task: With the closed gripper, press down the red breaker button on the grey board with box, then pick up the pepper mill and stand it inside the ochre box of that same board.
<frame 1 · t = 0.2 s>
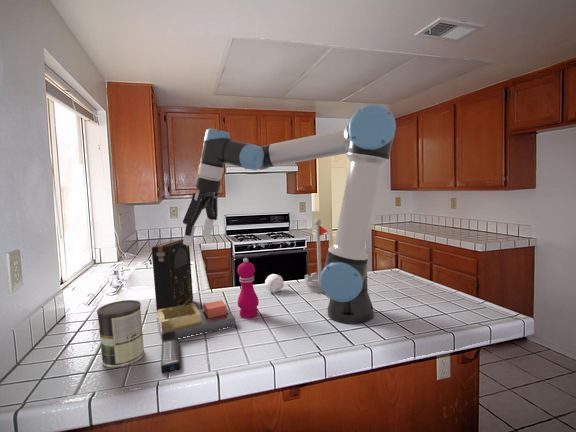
hand: (197, 240, 111), 27 cm above the countertop, tool tilted 15°, fingers open, 13 cm apart
ball: (274, 292, 139), on the countertop
flag stand: (320, 289, 141), on the countertop
breaker button: (215, 308, 110), point 4 cm above the countertop, slide at 0.0 cm
grey board with box: (196, 326, 107), on the countertop
coffee can: (124, 358, 89), on the countertop
multiport hub: (171, 360, 88), on the countertop
pepper mill: (248, 315, 115), on the countertop
voltmeter: (176, 307, 126), on the countertop
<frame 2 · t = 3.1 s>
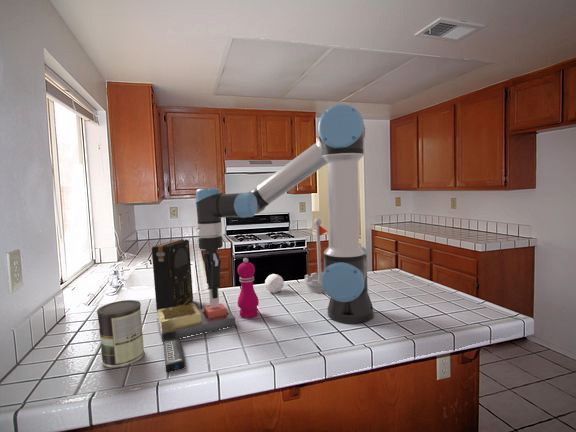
hand: (214, 306, 110), 5 cm above the countertop, tool pointing down, fingers closed
breaker button: (215, 311, 110), point 3 cm above the countertop, slide at 1.0 cm, touching gripper
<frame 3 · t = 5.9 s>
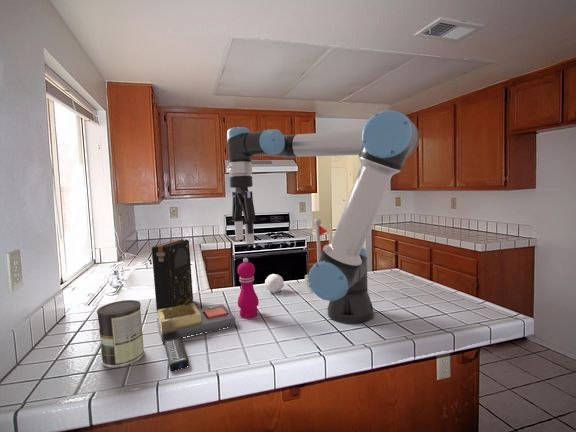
hand: (244, 241, 113), 26 cm above the countertop, tool pointing down, fingers open, 10 cm apart
breaker button: (215, 316, 110), point 2 cm above the countertop, slide at 2.5 cm
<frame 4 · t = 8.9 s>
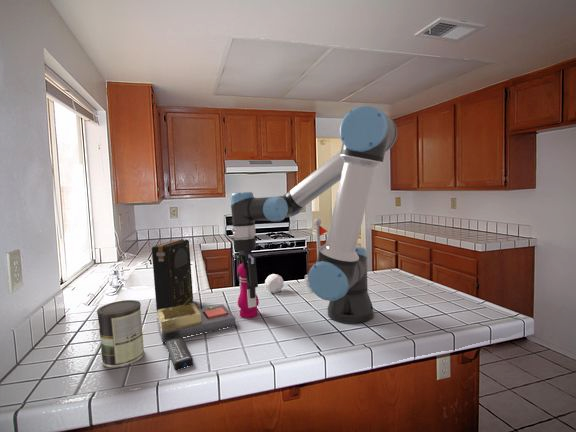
hand: (248, 303, 115), 4 cm above the countertop, tool pointing down, fingers closed on pepper mill, 7 cm apart
pepper mill: (249, 315, 115), on the countertop, touching gripper
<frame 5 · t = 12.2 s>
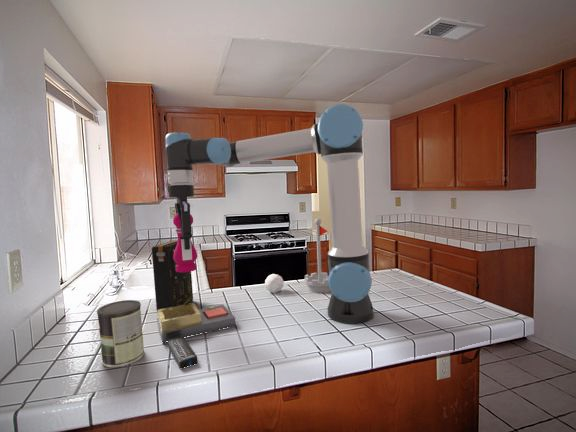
hand: (185, 257, 105), 23 cm above the countertop, tool pointing down, fingers closed on pepper mill, 7 cm apart
pepper mill: (186, 270, 105), point 19 cm above the countertop, touching gripper
when the fingers open (9 cm above the countertop, at t = 15.4 s): pepper mill drops 2 cm, resting on grey board with box.
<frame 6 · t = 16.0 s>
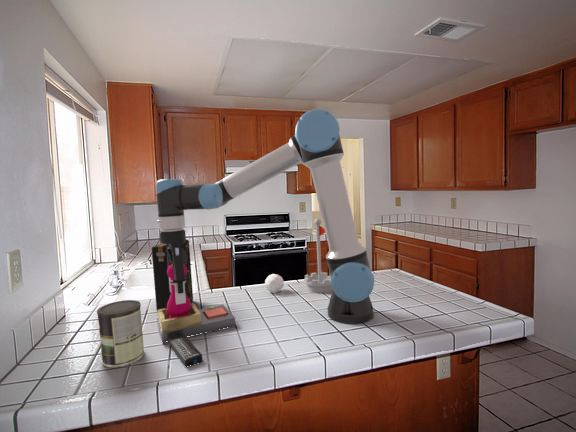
hand: (177, 297, 104), 11 cm above the countertop, tool pointing down, fingers open, 13 cm apart
pepper mill: (179, 321, 105), point 3 cm above the countertop, touching grey board with box
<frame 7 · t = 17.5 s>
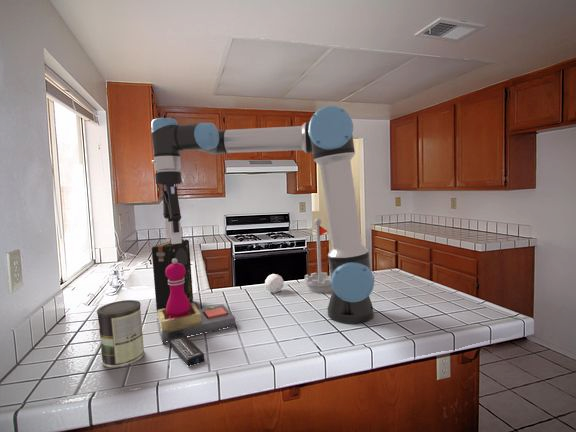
hand: (173, 240, 103), 29 cm above the countertop, tool pointing down, fingers open, 13 cm apart
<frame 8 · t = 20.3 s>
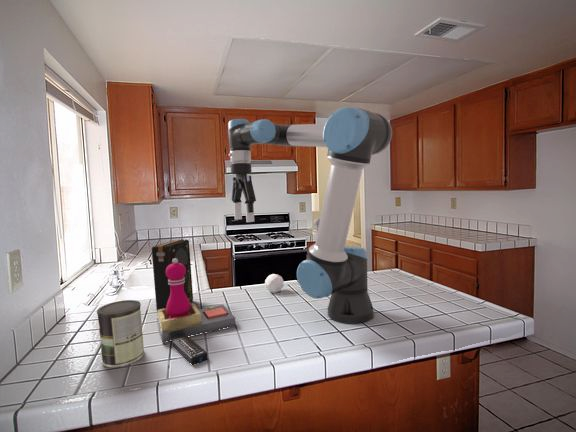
hand: (244, 220, 124), 32 cm above the countertop, tool pointing down, fingers open, 13 cm apart
at the end: breaker button slide at 2.5 cm; pepper mill 0.1 cm from the target spot on the grey board with box, point 2.8 cm above the grey board with box's base; pepper mill tilted 1° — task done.
